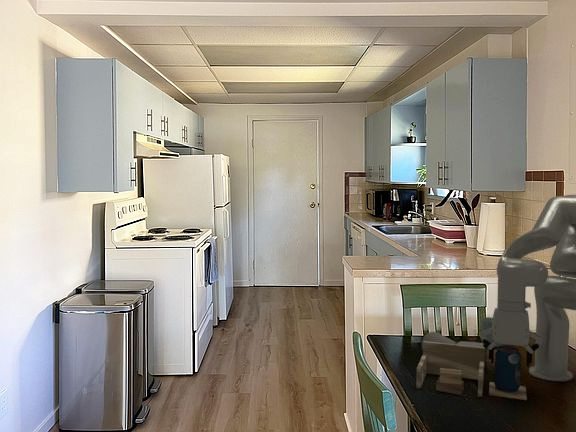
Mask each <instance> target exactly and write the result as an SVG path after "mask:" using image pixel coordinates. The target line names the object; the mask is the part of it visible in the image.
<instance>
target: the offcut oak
mask: <svg viewBox="0 0 576 432" xmlns="http://www.w3.org/2000/svg"><path fill="white" fill-rule="evenodd" d="M439 377H440V383H449V384H459V385H461V381H463V380H462V379H463V378H462V372H461V370H455V369H445V368H440V375H439Z"/></svg>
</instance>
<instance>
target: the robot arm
mask: <svg viewBox="0 0 576 432" xmlns="http://www.w3.org/2000/svg"><path fill="white" fill-rule="evenodd" d="M553 247H555V248H554V251H553V253H552V256H551V259H550V262H549V269H550V271H551V272H552V273H553V274H554V275H549V270H548V267H547V266H546V265H545V264H544V263H543V262H541V261H537V260H529V259H525V257H526V256H528V255H529V254H532V253H536V252H539V251H540V252H541V251H545V250H547V249H552V248H553ZM523 258H524V259H523ZM496 266H497V267H496V274H497V300H496V302H497V306H496V307H495V308H494V311H493V314H492V316H493V317H492V318H493V323H492V328H489V329H487V330H484V331H482V332H481V331H480V332H479V333H478V334H479V335H478V336H479V338H480V339H481V343H484V344H485V345H484V344H483V345H484V346H485V347H486V348H487V350H488V360H490V363H491V364H495V348H493V347H494V346H495V345H496V344H501V345H500V346H502V345H503V346H511V347H513V346H514V347H524V348H525V350H526V353H525V355H526V356H525V360H526V361H525V365H526V367H527V368H529V369H528V372H529V374H530V375H531V376H533V377H534V378H538V379H540V380H541V379H542V380H545V381H550V382H551V381H552V382H568V381H572V380H573V378H574V376H573V372H571V371H569V370H568V363H569V362H568V361H569V340H570V337H569V336H570V319H569V317H568V314H567V312H566V311H565V310H571V311H576V194H566V195H559V196H558V195H557V196H553V197H551V198H550V199H548V201H547V202H546V203H545V205H544V207H543V209H542V211H541V213H540V214H539V216H538V218H537V220H536V222H535V223H534V226H533V228H531V230H528V231H527V232H526V233H524V234H522V235H520V236H519V237H517V238H516V239H515V240H512V241H511V243H509V244H508V245H507V246H506V247H505V249H504V251H503V253H502V254H501V257H500V258H499V261H498V263H497V265H496ZM528 287H532V288H533V287H534V288H533V292H534V299H535V304H536V305H535V306H536V309H535V310H536V323H535V325H536V326H535V332H533V331H531V330H530V318H529V311H528V310H527V309H528V308H529V309H531V308H532V307H531V305H532V304H531V302H528V301H526V294H527V293H526V292H527V291H526V289H527V288H528ZM491 333H492V341H491V342H489V341H488V340H487V339H486V338H485V336H486V335H488V334H491ZM530 338H532V339H534V340H535V342H534V343H533V344H532V345H531V344H530V340H531V339H530ZM533 354H534V365H533V366H530V364H532V363H533Z"/></svg>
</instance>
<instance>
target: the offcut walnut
mask: <svg viewBox="0 0 576 432" xmlns="http://www.w3.org/2000/svg"><path fill="white" fill-rule="evenodd" d="M435 384H436V387H435V390H436V391H437V392H442V393H443V392H444V393H448V394H456V395H462V393H463V392H464V386H465V385H464V380H462V381H461V385H459V384H449V383H440V376H439V377H438V379H437V380H436V383H435Z"/></svg>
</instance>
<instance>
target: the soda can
mask: <svg viewBox="0 0 576 432" xmlns="http://www.w3.org/2000/svg"><path fill="white" fill-rule="evenodd" d="M521 359H522V355H521V354H520V350H519V349H518V348H517V347H515V346H514V347H513V346H510V345H503V346H502V345H500V346H499V347H497V349H496V352H494V381H493V382H494V384H495V386H496V388H497V389H498V390H499V391H502V392H506V393H515V392H517V390H518V389H519V388H520V386H521V364H522V363H521V362H522V360H521Z"/></svg>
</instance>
